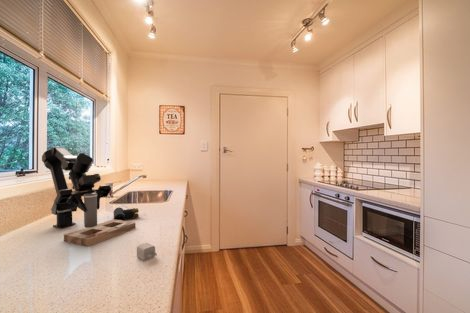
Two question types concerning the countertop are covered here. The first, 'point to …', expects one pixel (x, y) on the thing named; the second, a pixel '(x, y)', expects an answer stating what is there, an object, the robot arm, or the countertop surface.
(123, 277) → the countertop surface
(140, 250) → the usb wall charger
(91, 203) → the grey cylinder
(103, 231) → the socket plate
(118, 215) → the pipe connector
